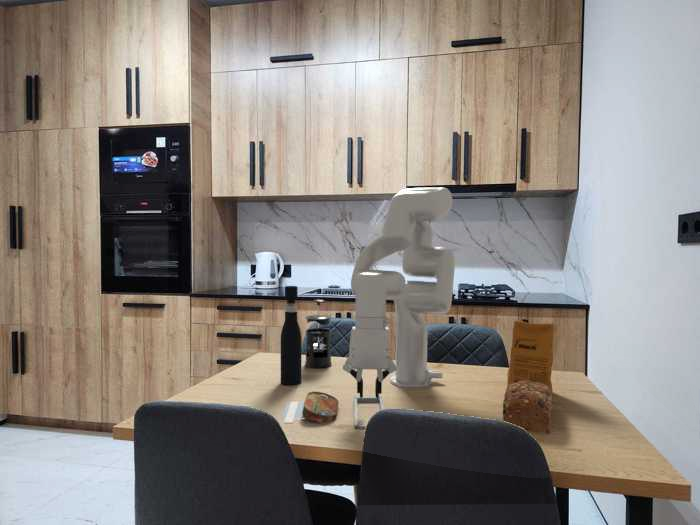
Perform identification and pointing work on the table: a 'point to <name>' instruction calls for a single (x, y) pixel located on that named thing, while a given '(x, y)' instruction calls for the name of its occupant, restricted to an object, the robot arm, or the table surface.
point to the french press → (318, 357)
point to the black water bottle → (291, 342)
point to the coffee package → (531, 353)
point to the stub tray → (364, 399)
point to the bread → (528, 406)
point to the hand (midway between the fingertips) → (369, 395)
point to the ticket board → (293, 411)
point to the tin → (320, 407)
